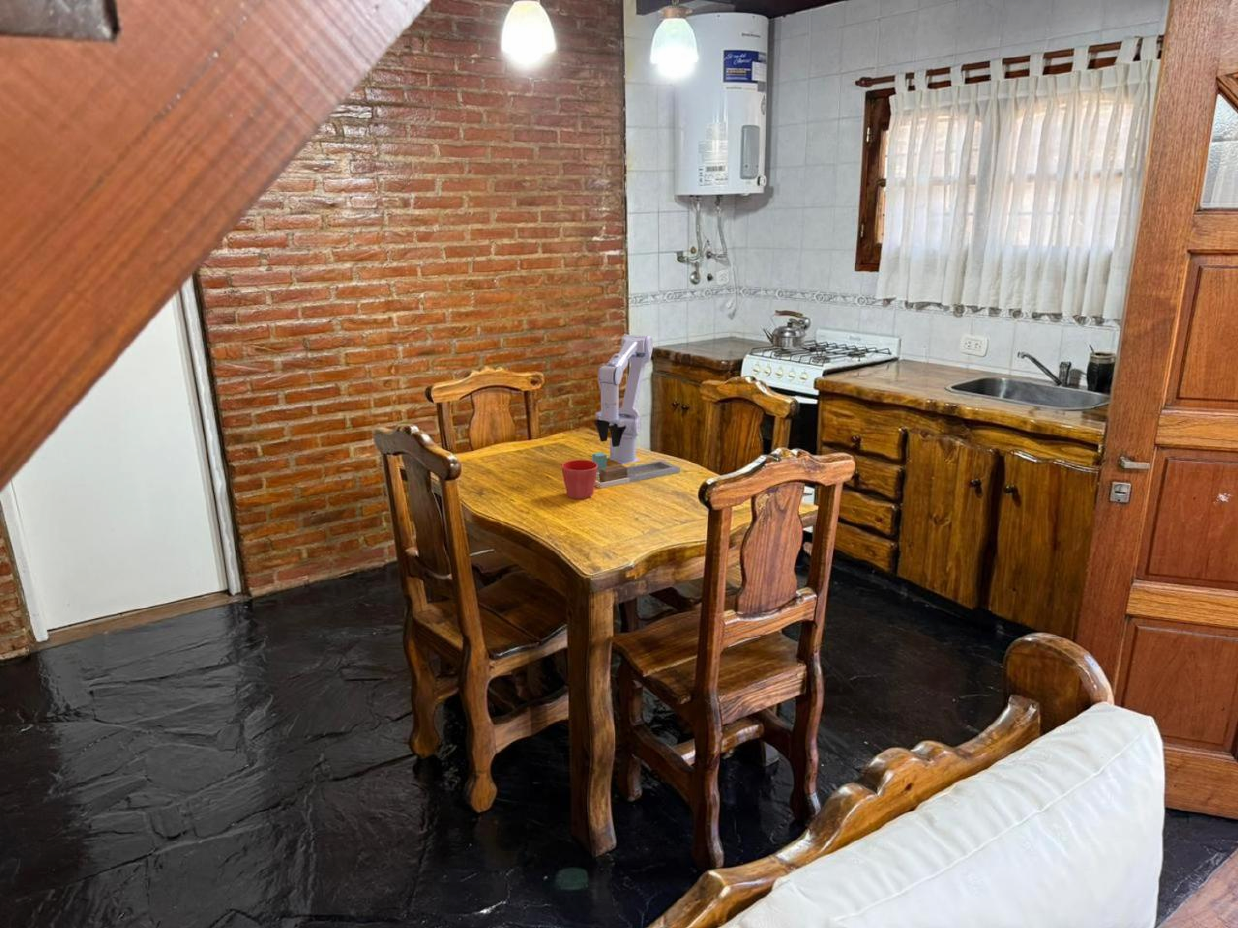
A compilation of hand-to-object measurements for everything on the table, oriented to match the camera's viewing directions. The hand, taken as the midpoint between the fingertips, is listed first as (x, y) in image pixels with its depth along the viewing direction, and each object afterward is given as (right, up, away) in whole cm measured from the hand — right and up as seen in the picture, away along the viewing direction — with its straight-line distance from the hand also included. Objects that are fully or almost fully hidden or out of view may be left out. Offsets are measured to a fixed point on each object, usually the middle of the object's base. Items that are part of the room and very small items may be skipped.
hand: (609, 443), depth 273 cm
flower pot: (-9, -16, -20) cm, 27 cm away
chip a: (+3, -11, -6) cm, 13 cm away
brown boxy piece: (0, -12, -8) cm, 14 cm away
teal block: (-3, -10, +2) cm, 10 cm away
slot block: (+12, -10, 0) cm, 16 cm away
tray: (-1, -13, -8) cm, 15 cm away
